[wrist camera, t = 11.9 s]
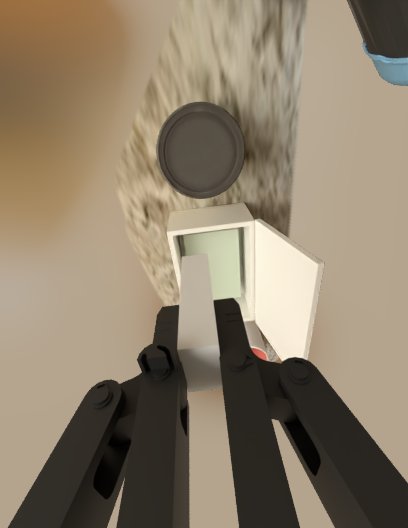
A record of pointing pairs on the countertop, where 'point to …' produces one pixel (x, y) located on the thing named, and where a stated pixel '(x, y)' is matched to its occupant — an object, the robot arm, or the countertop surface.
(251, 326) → the cup
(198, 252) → the box
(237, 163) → the coffee can
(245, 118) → the countertop surface
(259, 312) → the lid
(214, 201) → the countertop surface
